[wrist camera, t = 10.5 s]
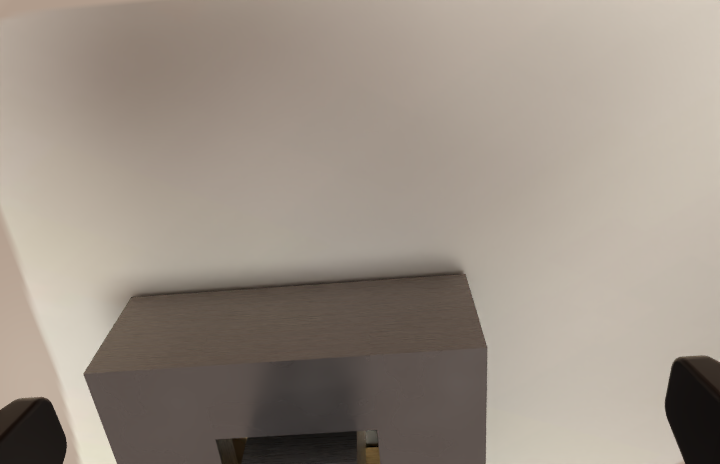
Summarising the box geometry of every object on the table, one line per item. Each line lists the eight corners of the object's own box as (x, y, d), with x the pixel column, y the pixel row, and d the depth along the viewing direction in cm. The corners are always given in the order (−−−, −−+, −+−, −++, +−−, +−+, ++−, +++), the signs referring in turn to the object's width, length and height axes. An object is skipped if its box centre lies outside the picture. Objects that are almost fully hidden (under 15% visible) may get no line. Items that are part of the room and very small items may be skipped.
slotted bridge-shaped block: (465, 273, 23) (487, 347, 19) (466, 491, 28) (483, 584, 24) (131, 297, 23) (83, 373, 19) (195, 506, 29) (168, 599, 25)
